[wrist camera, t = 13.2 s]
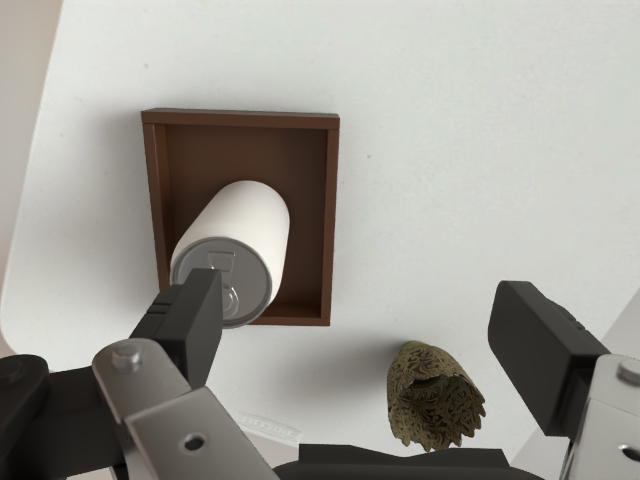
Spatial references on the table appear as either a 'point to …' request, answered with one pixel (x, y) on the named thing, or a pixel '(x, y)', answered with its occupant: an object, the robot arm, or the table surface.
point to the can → (238, 248)
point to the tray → (250, 165)
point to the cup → (431, 398)
